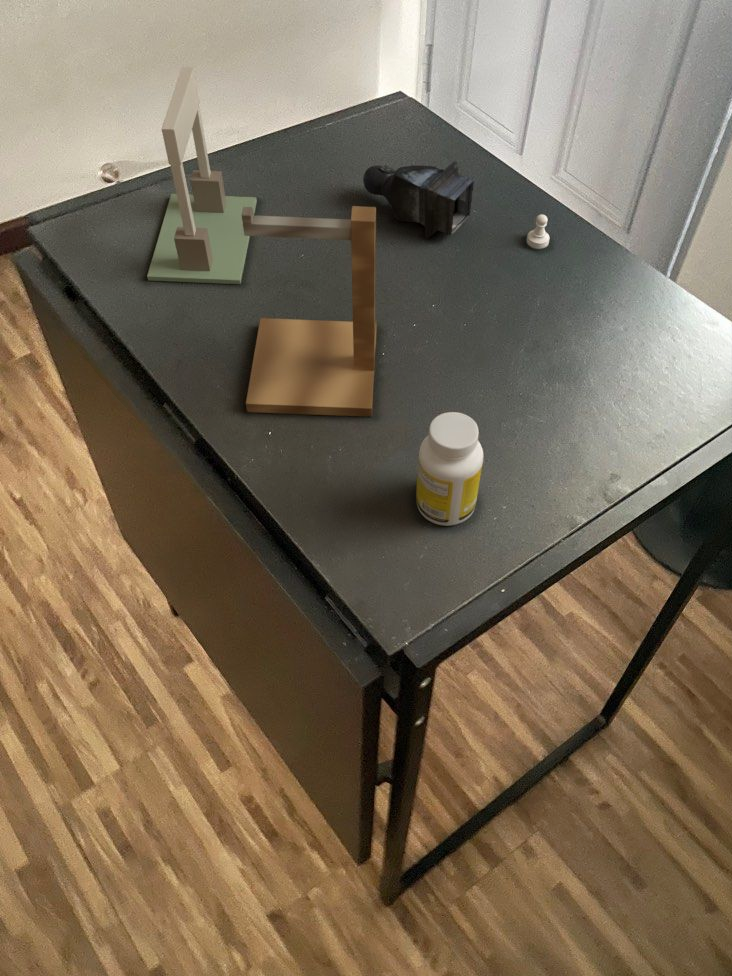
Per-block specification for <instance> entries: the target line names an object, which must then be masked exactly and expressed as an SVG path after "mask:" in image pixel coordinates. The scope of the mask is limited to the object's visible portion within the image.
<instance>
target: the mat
mask: <svg viewBox="0 0 732 976" xmlns="http://www.w3.org/2000/svg"><path fill="white" fill-rule="evenodd" d="M189 198H190V203H191V208H192V213H193V218H194V223H195V228H207V230H208V235H209V240H210V246H211V251H212V257H213V262H212V266H211V270H210V271H197V270H181V268H180V263H179V259H178V254H177V250H176V245H175V241H174V236H175V233H176V229H177V227H183V222H182V218H181V213H180V208H179V204H178V199H177V194H176V193H170V197H169V200H168V204H167V207H166V210H165V214H164V217H163V221H162V224H161V228H160V230H159V234H158V238H157V241H156V243H155V248H154V251H153V254H152V258H151V261H150V263H149V264H150V265H149V268H148V272H147V275H146V277H147V281H150V282H171V283H172V282H174V283H175V282H176V283H198V284H220V285H221V284H223V285H224V284H225V285H241V283H242V279H243V273H244V268H245V263H246V258H247V253H248V249H249V243H250V238H251V236H245V235H244V230H243V222H242V211H243V207H252V208H253V214H254V215H255V213H256V208H257V202H258V200H257V197H256V196H234V195H225V198H226V206H225V210H224V213H216V212H196V207H195V202H194V197H193V193H192V194H190V193H189Z"/></svg>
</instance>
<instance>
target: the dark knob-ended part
mask: <svg viewBox="0 0 732 976" xmlns="http://www.w3.org/2000/svg"><path fill="white" fill-rule="evenodd" d="M362 181H363V185H364V188H365V190H366V191H367V192H368V193H369V194H371V195H373V196H382V197H384V198H385V199H386V201H387V202H388V204H389V206H390V208H391V210H392V213H393V215H394V217H395V219H396V221H400V222H407V223H408V222H409V223H420V224H421V225H422V226H424V228H425V229H424V238H425V239H428V238H429V237H432V236H433V235H434V234H435V233H436V232H441V233H443V234H444V235H445V236H453V235H454V233H456V231H458V229H459V228H460V227H461V226H462V225H463V224H464V223H465V222H466V221H467V220H468V218H469V217H470V216H471V210H472V203H473V191H474V182H475V180H474V179H471V177H470V175H467V176H463V175H460V173H459V166H458V162H457V160H454V161H453V162H451V163H450V165H448V166H447V167H446V168H445V169H442V168H438V167H436V166H434V165H408V166H400V167H399V168H397V169H395V168H393V167H390V166H387V165H378V164H377V165H372V166H370V167H368V168H367V169H366V170H365V172H364V173H363V176H362Z"/></svg>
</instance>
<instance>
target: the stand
mask: <svg viewBox="0 0 732 976" xmlns="http://www.w3.org/2000/svg"><path fill="white" fill-rule="evenodd" d="M242 222H243V230H244V235H245V236H250V237H264V238H265V237H268V238H290V239H294V238H295V239H315V240H336V241H337V240H338V241H339V240H340V241H350V245H351V246H350V247H351V248H350V249H351V252H350V253H351V254H350V255H351V297H352V298H351V300H352V306H351V307H352V321H345V320H341V321H340V320H319V319H318V320H316V319H295V318H292V319H291V318H267V317H260V318H259V324H258V329H257V336H256V341H255V347H254V353H253V358H252V365H251V370H250V376H249V382H248V387H247V394H246V400H245V407H246V412H247V413H260V414H261V413H263V414H284V415H285V414H288V415H291V414H292V415H310V416H311V415H313V416H314V415H315V416H342V417H366V418H372V417H373V408H374V407H373V406H374V405H373V403H374V389H375V387H374V386H375V385H374V384H375V369H376V352H377V351H376V350H377V349H376V348H377V335H378V334H377V332H378V331H377V330H378V329H377V328H378V324H377V322H376V271H377V270H376V269H377V268H376V263H377V262H376V260H377V259H376V257H377V256H376V254H377V248H376V247H377V207H376V206H356V205H352V206H351V214H350V219H347V218H346V219H345V218H323V217H322V218H321V217H318V218H317V217H300V216H299V217H298V216H297V217H296V216H277V215H276V216H275V215H255V213H254V214H253V208H252V207H243V211H242Z"/></svg>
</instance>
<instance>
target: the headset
mask: <svg viewBox="0 0 732 976" xmlns="http://www.w3.org/2000/svg"><path fill="white" fill-rule="evenodd" d="M200 102H201V101H200V96H199V89H198V84H197V78H196V72H195V67H194V66H181V70H180V72H179V76H178V78H177V81H176V83H175V87H174V89H173V93H172V96H171V99H170V102H169V105H168V108H167V111H166V114H165V117H164V120H163V123H162V126H161V133H162V134H161V135H162V138H163V143H164V147H165V151H166V156H167V161H168V165H169V166H170V171H171V176H172V180H173V184H174V189H175V194H177V199H178V204H179V208H180V213H181V218H182V222H183V227H177V229H176V233H175V236H174V241H175V245H176V250H177V254H178V259H179V263H180V268H181V270H197V271H210V270H211V266H212V262H213V257H212V251H211V246H210V240H209V235H208V230H207V228H195V223H194V218H193V213H192V208H191V203H190V198H189V194H190V193H189V189H188V183H187V179H186V173H185V169H184V164H183V160H184V157H185V154H186V150H187V147H188V143H189V140H190V137H191V133H192V138H193V142H194V147H195V153H196V159H197V165H198V169H193V170H192V173H191V176H190V179H189V180H190V185H191V186H190V187H191V191H192V195H193V197H194V202H195V207H196V212H216V213H224V210H225V206H226V198H225V196H226V192H225V187H224V181H223V180H224V179H223V173H222V171H221V170H211V166H210V161H209V154H208V149H207V143H206V138H205V131H204V125H203V119H202V113H201V107H200Z"/></svg>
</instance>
